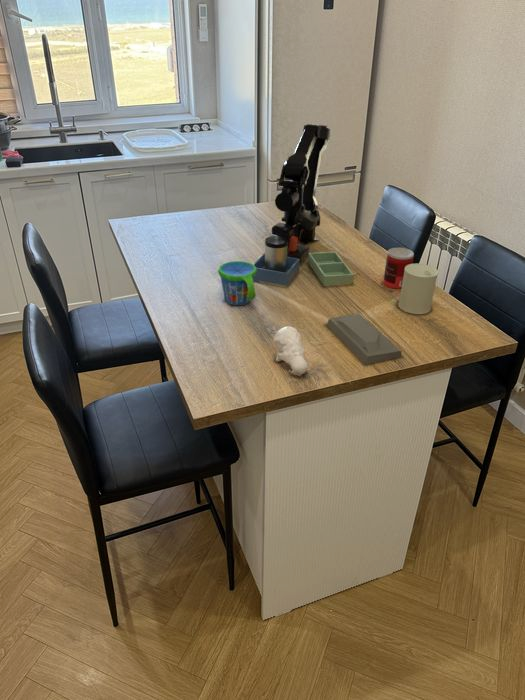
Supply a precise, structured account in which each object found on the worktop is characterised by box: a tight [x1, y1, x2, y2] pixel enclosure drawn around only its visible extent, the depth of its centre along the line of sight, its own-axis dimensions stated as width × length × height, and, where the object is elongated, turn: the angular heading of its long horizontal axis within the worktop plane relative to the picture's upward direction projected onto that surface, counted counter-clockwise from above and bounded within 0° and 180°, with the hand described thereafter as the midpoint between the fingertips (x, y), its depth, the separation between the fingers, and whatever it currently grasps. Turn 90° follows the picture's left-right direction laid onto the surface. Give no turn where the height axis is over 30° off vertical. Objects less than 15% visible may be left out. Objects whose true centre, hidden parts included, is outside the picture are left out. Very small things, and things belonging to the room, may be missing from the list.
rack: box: [307, 250, 355, 286], centre depth 175 cm, size 18×9×4 cm, turn 11°
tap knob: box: [288, 236, 299, 252], centre depth 183 cm, size 4×4×4 cm
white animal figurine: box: [273, 325, 309, 377], centre depth 129 cm, size 6×8×12 cm
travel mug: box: [264, 235, 288, 273], centre depth 170 cm, size 7×7×12 cm
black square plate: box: [287, 244, 310, 265], centre depth 185 cm, size 10×10×3 cm
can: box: [397, 262, 439, 315], centre depth 155 cm, size 9×9×12 cm
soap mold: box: [326, 313, 402, 366], centre depth 141 cm, size 10×20×4 cm, turn 22°
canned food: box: [382, 247, 415, 291], centre depth 166 cm, size 8×8×11 cm
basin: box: [252, 252, 301, 287], centre depth 172 cm, size 12×12×5 cm
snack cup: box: [217, 260, 257, 306], centre depth 156 cm, size 16×10×10 cm
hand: (291, 247), depth 184 cm, fingers open, 7 cm apart
